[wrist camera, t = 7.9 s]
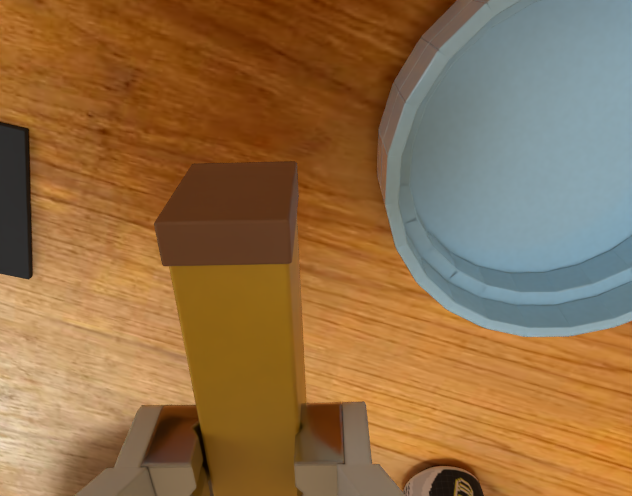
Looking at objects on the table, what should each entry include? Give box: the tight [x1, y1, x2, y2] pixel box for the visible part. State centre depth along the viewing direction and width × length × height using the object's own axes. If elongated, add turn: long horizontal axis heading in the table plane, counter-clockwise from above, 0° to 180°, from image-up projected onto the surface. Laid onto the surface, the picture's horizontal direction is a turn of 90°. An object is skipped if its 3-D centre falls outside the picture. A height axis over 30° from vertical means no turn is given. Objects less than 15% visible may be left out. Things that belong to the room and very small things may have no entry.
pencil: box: [154, 161, 306, 496], centre depth 12 cm, size 12×2×3 cm, turn 2°
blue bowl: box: [377, 0, 632, 337], centre depth 24 cm, size 17×17×4 cm
